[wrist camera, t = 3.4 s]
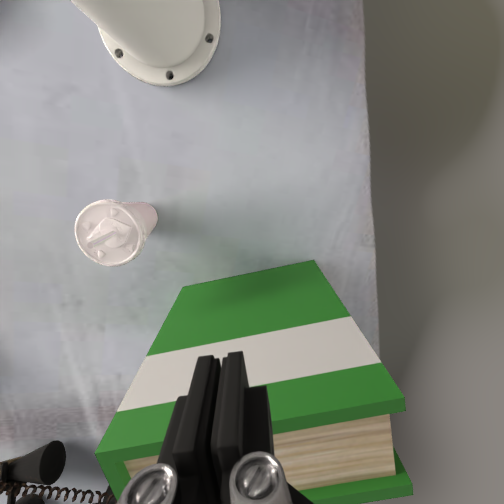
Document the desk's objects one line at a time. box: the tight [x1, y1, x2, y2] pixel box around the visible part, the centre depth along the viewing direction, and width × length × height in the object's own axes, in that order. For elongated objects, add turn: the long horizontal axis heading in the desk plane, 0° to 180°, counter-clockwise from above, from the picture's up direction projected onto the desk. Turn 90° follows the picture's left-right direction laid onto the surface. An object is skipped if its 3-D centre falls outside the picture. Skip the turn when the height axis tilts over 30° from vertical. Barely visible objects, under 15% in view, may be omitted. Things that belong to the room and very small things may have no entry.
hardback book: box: [94, 260, 413, 504], centre depth 29 cm, size 18×7×24 cm, turn 102°
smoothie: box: [75, 200, 158, 266], centre depth 31 cm, size 6×6×14 cm
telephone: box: [0, 441, 117, 504], centre depth 45 cm, size 15×13×30 cm
